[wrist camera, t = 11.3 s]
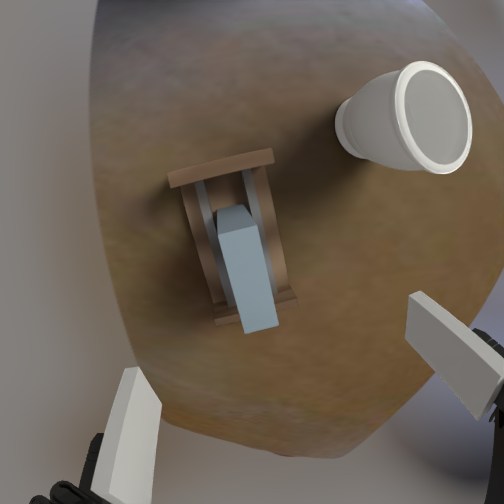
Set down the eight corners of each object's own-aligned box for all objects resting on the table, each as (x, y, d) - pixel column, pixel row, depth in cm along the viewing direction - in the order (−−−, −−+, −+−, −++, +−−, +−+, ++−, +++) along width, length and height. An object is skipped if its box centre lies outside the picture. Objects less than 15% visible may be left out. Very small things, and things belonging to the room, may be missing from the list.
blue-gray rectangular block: (217, 209, 32) (217, 234, 21) (242, 203, 32) (257, 225, 21) (235, 279, 35) (245, 333, 24) (258, 273, 35) (278, 325, 24)
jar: (343, 75, 30) (412, 38, 15) (402, 116, 32) (480, 107, 18) (313, 142, 32) (378, 132, 18) (377, 180, 34) (456, 196, 20)
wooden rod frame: (176, 171, 31) (166, 173, 25) (260, 150, 32) (271, 147, 25) (215, 306, 37) (216, 336, 30) (288, 287, 37) (303, 313, 31)
